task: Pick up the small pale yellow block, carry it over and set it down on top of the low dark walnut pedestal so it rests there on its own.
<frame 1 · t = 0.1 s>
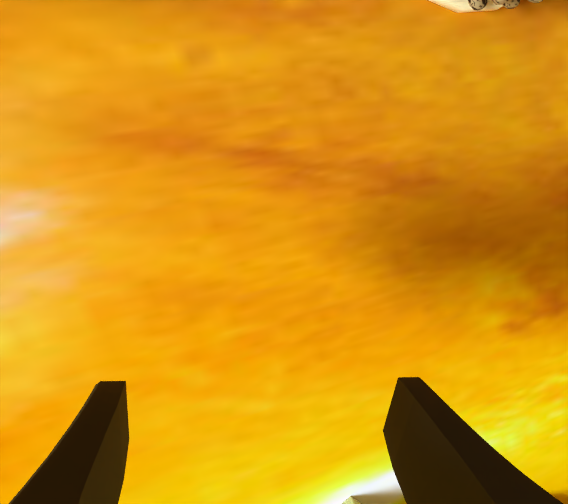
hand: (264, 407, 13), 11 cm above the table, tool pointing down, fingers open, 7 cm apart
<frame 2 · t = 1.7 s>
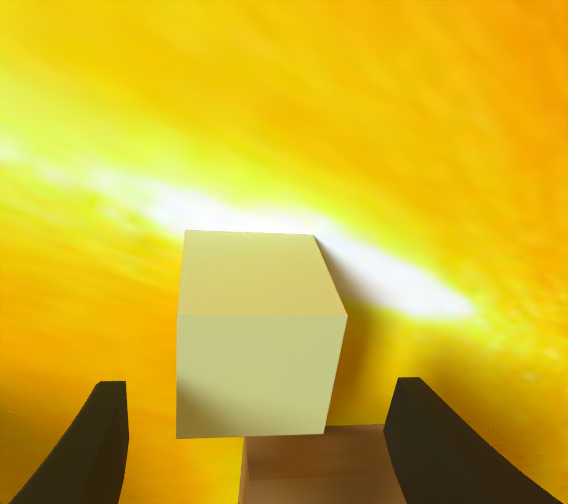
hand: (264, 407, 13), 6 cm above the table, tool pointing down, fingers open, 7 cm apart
walnut pedestal: (326, 481, 25), on the table
pale yellow block: (245, 285, 18), on the table
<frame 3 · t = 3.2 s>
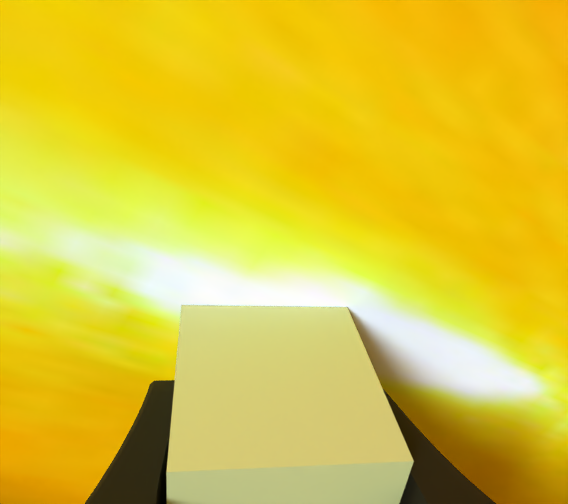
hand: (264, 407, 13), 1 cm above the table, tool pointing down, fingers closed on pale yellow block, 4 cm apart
pale yellow block: (259, 370, 14), on the table, touching gripper
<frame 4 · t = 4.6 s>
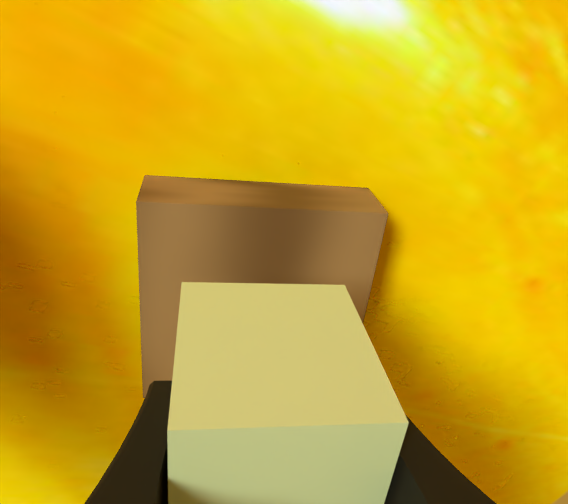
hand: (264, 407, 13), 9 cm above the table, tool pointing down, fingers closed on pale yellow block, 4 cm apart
walnut pedestal: (251, 272, 22), on the table
pale yellow block: (259, 348, 14), point 7 cm above the table, touching gripper
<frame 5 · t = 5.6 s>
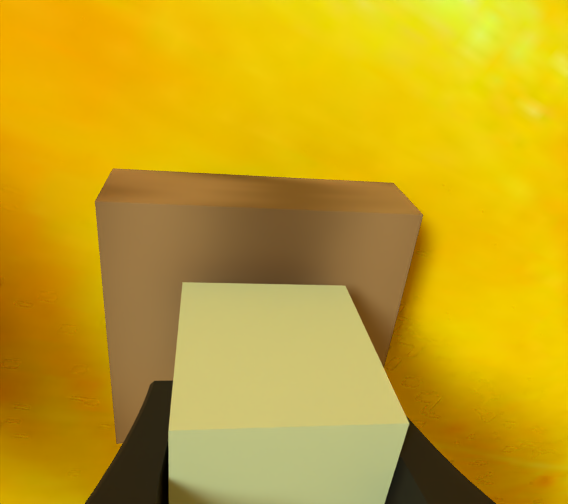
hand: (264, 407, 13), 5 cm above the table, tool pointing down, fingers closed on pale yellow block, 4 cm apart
walnut pedestal: (249, 288, 18), on the table
pale yellow block: (259, 348, 14), point 3 cm above the table, touching gripper
when the fingers open (5 cm above the table, at t = 6.2 s): pale yellow block drops 1 cm, resting on walnut pedestal.
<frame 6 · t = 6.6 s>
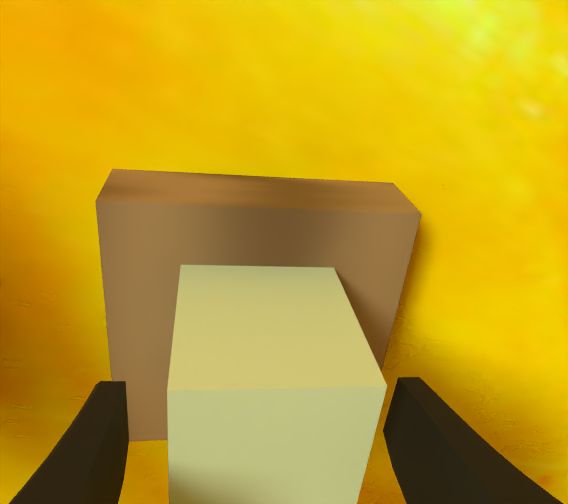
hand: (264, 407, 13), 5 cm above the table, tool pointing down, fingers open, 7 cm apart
walnut pedestal: (249, 286, 18), on the table, touching pale yellow block
pale yellow block: (253, 328, 15), point 2 cm above the table, touching walnut pedestal
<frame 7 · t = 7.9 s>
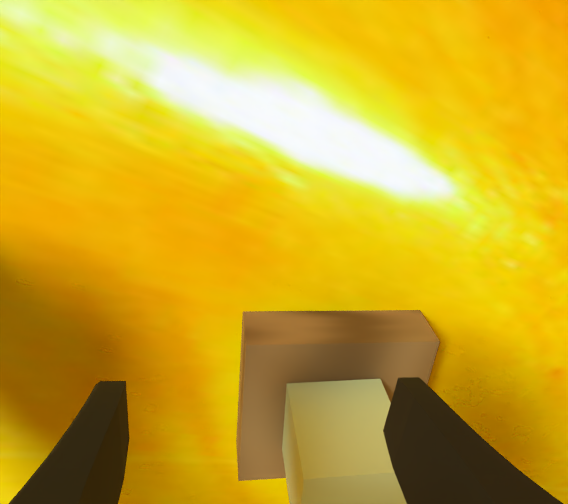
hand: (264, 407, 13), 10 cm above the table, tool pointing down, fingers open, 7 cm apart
walnut pedestal: (321, 373, 26), on the table
pale yellow block: (329, 415, 24), point 2 cm above the table
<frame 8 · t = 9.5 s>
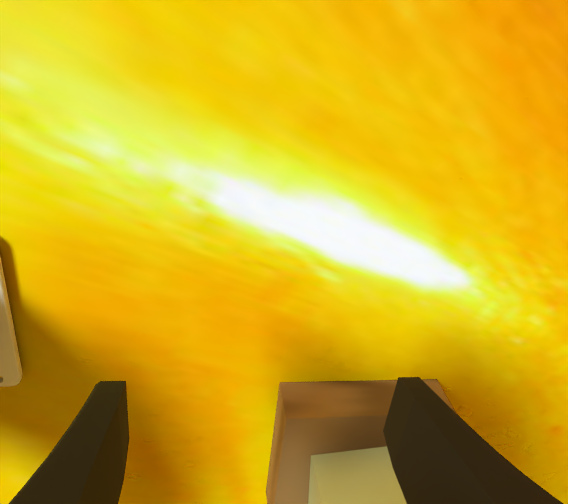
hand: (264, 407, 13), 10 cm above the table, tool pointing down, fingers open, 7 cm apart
walnut pedestal: (345, 430, 29), on the table, touching pale yellow block
pale yellow block: (349, 478, 27), point 2 cm above the table, touching walnut pedestal
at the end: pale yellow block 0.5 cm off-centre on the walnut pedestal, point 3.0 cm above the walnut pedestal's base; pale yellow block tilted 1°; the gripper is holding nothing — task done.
